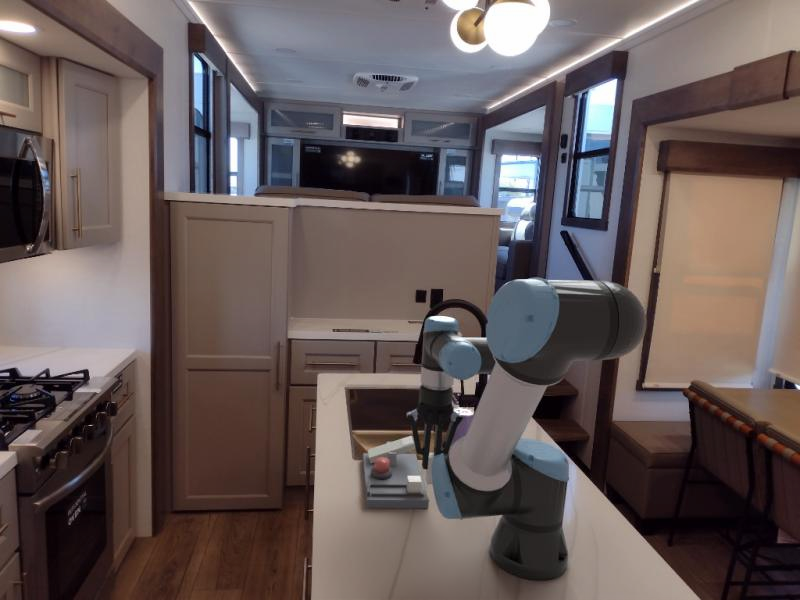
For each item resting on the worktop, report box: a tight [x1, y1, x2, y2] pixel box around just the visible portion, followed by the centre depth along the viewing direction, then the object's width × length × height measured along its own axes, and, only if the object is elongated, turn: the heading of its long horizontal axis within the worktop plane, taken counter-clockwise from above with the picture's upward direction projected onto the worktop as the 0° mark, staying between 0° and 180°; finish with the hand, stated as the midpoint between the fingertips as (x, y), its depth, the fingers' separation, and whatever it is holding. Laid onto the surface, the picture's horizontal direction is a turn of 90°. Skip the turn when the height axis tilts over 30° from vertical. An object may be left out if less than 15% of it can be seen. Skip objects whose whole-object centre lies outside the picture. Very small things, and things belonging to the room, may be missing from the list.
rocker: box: [367, 435, 416, 463], centre depth 149 cm, size 5×12×2 cm, turn 96°
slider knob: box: [407, 476, 422, 493], centre depth 134 cm, size 3×3×3 cm
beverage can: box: [448, 407, 475, 453], centre depth 153 cm, size 6×6×15 cm
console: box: [362, 441, 430, 509], centre depth 142 cm, size 24×14×6 cm, turn 6°
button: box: [374, 457, 390, 473], centre depth 141 cm, size 4×4×2 cm
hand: (429, 481), depth 135 cm, fingers closed
